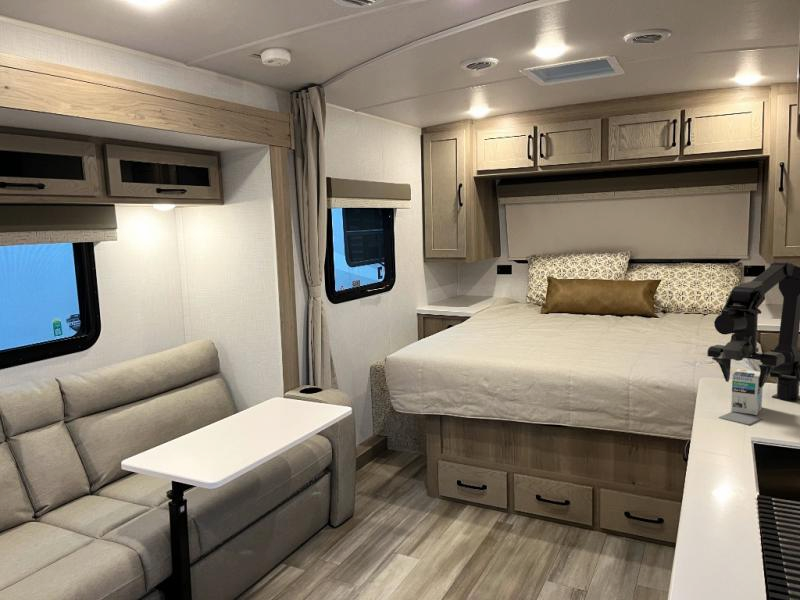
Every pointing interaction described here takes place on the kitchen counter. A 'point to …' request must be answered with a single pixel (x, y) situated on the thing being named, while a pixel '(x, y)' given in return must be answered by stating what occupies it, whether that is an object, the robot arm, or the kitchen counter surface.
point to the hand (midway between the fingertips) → (743, 384)
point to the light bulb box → (746, 392)
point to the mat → (741, 418)
